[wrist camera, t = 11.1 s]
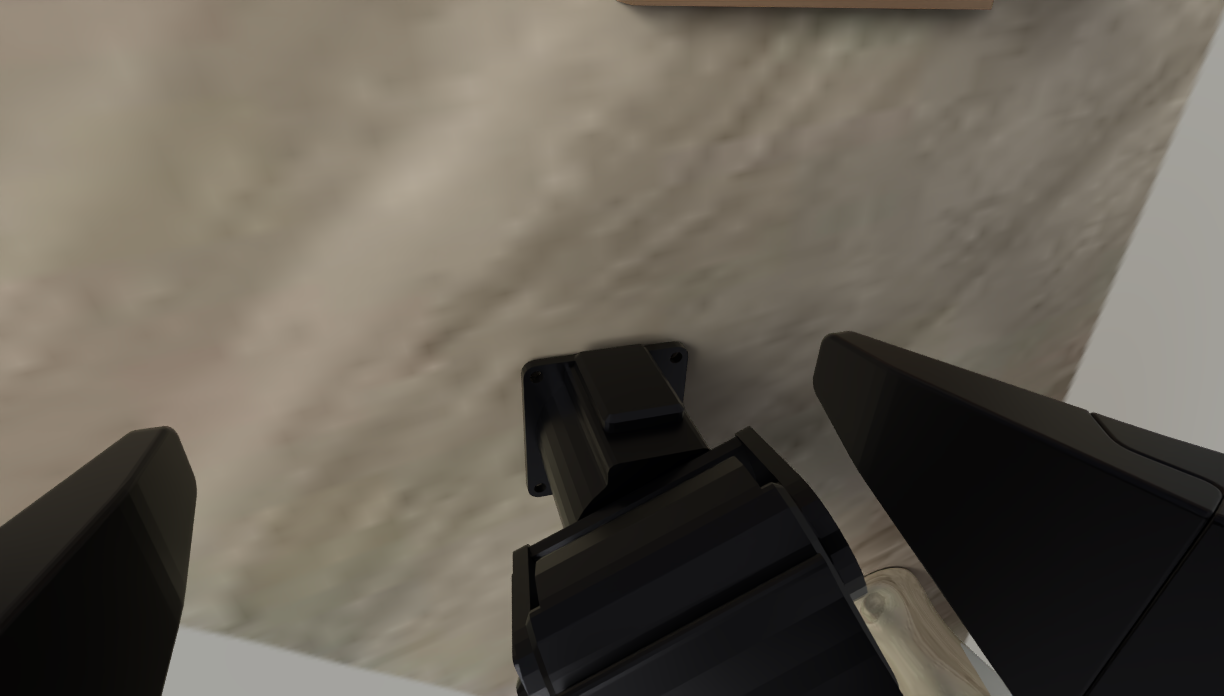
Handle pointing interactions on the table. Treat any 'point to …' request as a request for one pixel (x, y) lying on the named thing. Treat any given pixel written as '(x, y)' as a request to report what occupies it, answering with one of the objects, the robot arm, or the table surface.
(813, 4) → the square wooden board
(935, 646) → the beer glass
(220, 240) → the table surface
